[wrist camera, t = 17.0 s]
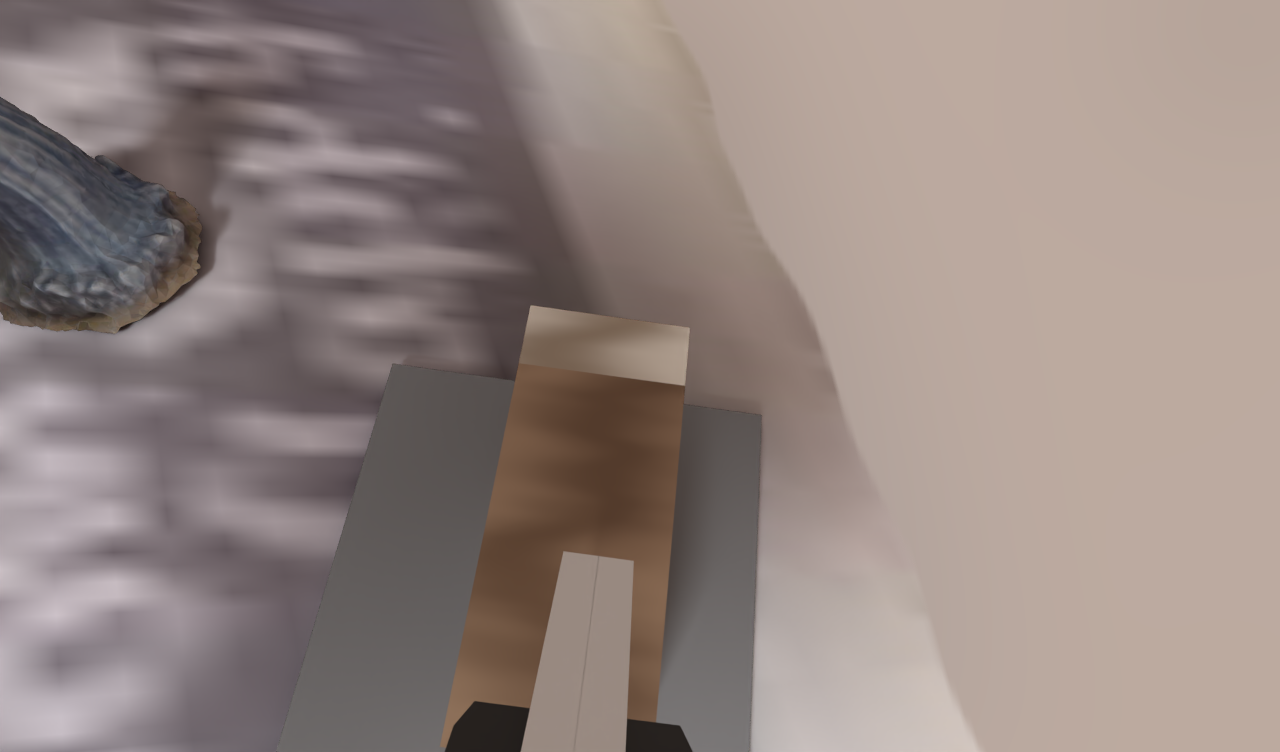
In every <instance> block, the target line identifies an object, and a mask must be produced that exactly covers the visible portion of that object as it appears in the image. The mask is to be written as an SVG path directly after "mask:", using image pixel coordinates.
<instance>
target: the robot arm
mask: <svg viewBox="0 0 1280 752" xmlns="http://www.w3.org/2000/svg"><path fill="white" fill-rule="evenodd" d="M633 568H634V561H631V560H624V559H616V558H609V557H602V556H595V555H587V554H580V553H573V552H565V551H563V556H562V561H561V565H560V570H559V575H558V579H557V584H556V589H555V594H554V598H553V603H552V608H551V612H550V617H549V622H548V626H547V631H546V636H545V640H544V645H543V650H542V654H541V659H540V664H539V668H538V673H537V678H536V683H535V687H534V692H533V697H532V701H531V706H530V708H525V707H517V706H509V705H502V704H494V703H486V702H478V701H474V702H473V703H472V705H471V706H470V707H469V708H468V709H467V710H466V712H465V713H464V714H463V715H462V716H461V717H460V719H459V720H458V721H457V722H456V723H455V724H454V726H453V729H452V731H451V734H450V737H449V740H448V743H447V746H446V749H445V752H693V751H692V749H691V747H690V745H689V743H688V741H687V738H686V736H685V734H684V732H683V730H682V728H681V726H680V725H672V724H664V723H657V722H649V721H641V720H633V719H627V705H628V682H629V659H630V636H631V613H632V591H633Z"/></svg>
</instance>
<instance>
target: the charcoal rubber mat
mask: <svg viewBox="0 0 1280 752" xmlns="http://www.w3.org/2000/svg"><path fill="white" fill-rule="evenodd" d="M514 384H515V381H514V380H507V379H499V378H492V377H485V376H478V375H471V374H464V373H456V372H449V371H442V370H435V369H428V368H421V367H413V366H406V365H399V364H393V365H392V368H391V371H390V375H389V378H388V381H387V385H386V388H385V391H384V394H383V398H382V401H381V404H380V408H379V411H378V414H377V418H376V421H375V424H374V428H373V431H372V434H371V438H370V441H369V444H368V448H367V451H366V454H365V458H364V461H363V464H362V468H361V471H360V474H359V478H358V481H357V484H356V488H355V491H354V494H353V498H352V501H351V504H350V508H349V511H348V514H347V517H346V521H345V524H344V527H343V531H342V534H341V537H340V541H339V544H338V547H337V551H336V554H335V557H334V561H333V564H332V567H331V571H330V574H329V577H328V581H327V584H326V587H325V591H324V594H323V597H322V601H321V604H320V607H319V611H318V614H317V617H316V621H315V624H314V627H313V630H312V634H311V637H310V640H309V644H308V647H307V650H306V654H305V657H304V660H303V664H302V667H301V670H300V674H299V677H298V680H297V684H296V687H295V690H294V694H293V697H292V700H291V704H290V707H289V710H288V714H287V717H286V720H285V724H284V727H283V730H282V734H281V737H280V740H279V743H278V747H277V750H276V752H445V749H446V748H445V747H440V743H441V738H442V734H443V729H444V724H445V719H446V714H447V709H448V704H449V700H450V695H451V690H452V685H453V680H454V675H455V670H456V666H457V661H458V656H459V651H460V646H461V641H462V636H463V632H464V627H465V622H466V617H467V612H468V607H469V602H470V598H471V593H472V588H473V583H474V578H475V573H476V568H477V564H478V559H479V554H480V549H481V544H482V539H483V534H484V530H485V525H486V520H487V515H488V510H489V505H490V500H491V496H492V491H493V486H494V481H495V476H496V471H497V466H498V462H499V457H500V452H501V447H502V442H503V437H504V432H505V428H506V423H507V418H508V413H509V408H510V403H511V398H512V394H513V389H514ZM761 417H762V415H757V414H750V413H743V412H736V411H729V410H722V409H714V408H707V407H700V406H693V405H686V404H683V415H682V427H681V439H680V450H679V462H678V474H677V485H676V497H675V508H674V520H673V532H672V543H671V555H670V567H669V578H668V590H667V601H666V613H665V625H664V636H663V648H662V660H661V671H660V683H659V694H658V706H657V718H656V722H657V723H664V724H672V725H680V726H681V728H682V730H683V732H684V734H685V736H686V738H687V741H688V743H689V745H690V747H691V749H692V751H693V752H749V744H750V717H751V690H752V663H753V635H754V608H755V581H756V554H757V526H758V499H759V472H760V444H761Z"/></svg>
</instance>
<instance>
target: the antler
mask: <svg viewBox="0 0 1280 752" xmlns="http://www.w3.org/2000/svg"><path fill="white" fill-rule="evenodd" d="M195 210H196V208H194V207H193V206H192V205H190V204H189V203H188V202H187V201H186V200H185V199H184V198H178V197H177V196H176V194H175V192H171V191H168V190H166V189H165V188H164V187H163V186H162V185H160V184H155V183H150V182H145V181H142V180H140V179H139V178H137V177H136V176H134V175H133V174H131V173H130V172H128V171H125V170H123V169H122V168H121V167H120V166H118V165H117V164H116V163H115V162H113V161H111V160H110V159H108V158H106V157H105V156H103V155H100V156H96V157H95V159H93V158H92V157H90V156H89V155H87V154H86V153H85V152H83V151H82V150H81V149H80V148H79V147H77V146H75V145H74V144H72V143H71V142H70V141H69V140H68V139H67V138H65V137H64V136H62V135H60V134H59V133H57V132H55V131H53V130H52V129H50V128H48V127H47V126H45V125H43V124H41V123H40V122H39V121H38V120H37V119H36V118H35V117H33V116H32V115H30V114H27V113H25V112H23V111H21V110H20V109H19V108H17V107H16V106H15V105H13V104H11V103H9V102H8V101H6V100H4V99H3V98H1V97H0V312H1V313H2V315H3V320H7V321H10V323H12V324H17V325H21V326H29V327H33V326H38V327H40V328H41V329H50V330H54V331H60V330H63V331H68V330H72V329H74V330H78V331H81V330H92V331H97V332H103V333H112V334H115V333H117V332H118V331H119V329H120V327H122V326H124V325H126V324H129V323H132V322H135V321H138V320H140V319H141V318H142V317H144V316H145V315H146V314H147V313H148V312H150V311H151V310H153V309H154V308H156V307H157V306H159V303H160V302H166V301H167V300H168V299H169V298H170V297H171V296H172V295H173V294H174V293H176V292H177V290H178V289H179V288H180V287H181V286H182V285H184V284H186V283H188V282H189V281H190V280H191V279H192V278H193V277H194V276H196V275H197V274H198V273H197V269H199V268H200V264H198V263H197V260H198V257H199V254H198V252H197V251H198V246H199V244H200V243H201V239H200V238H199V234H200V233H201V231H202V226H201V224H200V223H199V221H198V219H197V217H198V216H199V214H197V213H196V212H195Z"/></svg>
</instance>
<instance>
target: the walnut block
mask: <svg viewBox="0 0 1280 752" xmlns="http://www.w3.org/2000/svg"><path fill="white" fill-rule="evenodd" d="M689 334H690V328H689V327H682V326H675V325H668V324H660V323H653V322H646V321H639V320H632V319H625V318H618V317H610V316H603V315H596V314H589V313H582V312H575V311H568V310H560V309H553V308H546V307H539V306H532V305H531V306H530V311H529V316H528V321H527V326H526V330H525V335H524V340H523V345H522V350H521V355H520V360H519V364H518V369H517V374H516V379H515V384H514V389H513V394H512V398H511V403H510V408H509V413H508V418H507V423H506V428H505V432H504V437H503V442H502V447H501V452H500V457H499V462H498V466H497V471H496V476H495V481H494V486H493V491H492V496H491V500H490V505H489V510H488V515H487V520H486V525H485V530H484V534H483V539H482V544H481V549H480V554H479V559H478V564H477V568H476V573H475V578H474V583H473V588H472V593H471V598H470V602H469V607H468V612H467V617H466V622H465V627H464V632H463V636H462V641H461V646H460V651H459V656H458V661H457V666H456V670H455V675H454V680H453V685H452V690H451V695H450V700H449V704H448V709H447V714H446V719H445V724H444V729H443V734H442V738H441V743H440V747H445V748H446V746H447V743H448V740H449V737H450V734H451V731H452V729H453V726H454V724H455V723H456V722H457V721H458V720H459V719H460V717H461V716H462V715H463V714H464V713H465V712H466V710H467V709H468V708H469V707H470V706H471V705H472V703H473V702H474V701H478V702H486V703H494V704H502V705H509V706H517V707H525V708H530V706H531V701H532V697H533V692H534V687H535V683H536V678H537V673H538V668H539V664H540V659H541V654H542V650H543V645H544V640H545V636H546V631H547V626H548V622H549V617H550V612H551V608H552V603H553V598H554V594H555V589H556V584H557V579H558V575H559V570H560V565H561V561H562V556H563V551H565V552H573V553H580V554H587V555H595V556H602V557H609V558H616V559H624V560H631V561H634V568H633V591H632V613H631V636H630V659H629V682H628V705H627V719H633V720H641V721H649V722H656V718H657V706H658V694H659V683H660V671H661V660H662V648H663V636H664V625H665V613H666V601H667V590H668V578H669V567H670V555H671V543H672V532H673V520H674V508H675V497H676V485H677V474H678V462H679V450H680V439H681V427H682V415H683V404H684V392H685V381H686V369H687V357H688V346H689Z"/></svg>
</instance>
